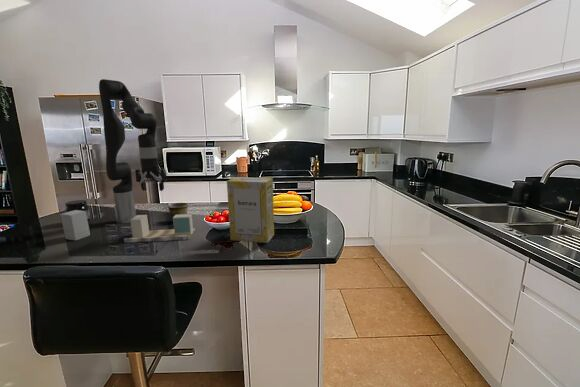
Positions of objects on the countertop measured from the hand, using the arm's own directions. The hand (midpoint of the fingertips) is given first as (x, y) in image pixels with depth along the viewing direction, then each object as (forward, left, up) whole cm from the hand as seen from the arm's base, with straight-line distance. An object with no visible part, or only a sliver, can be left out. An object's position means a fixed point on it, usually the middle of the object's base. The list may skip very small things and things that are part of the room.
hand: (153, 190), depth 135 cm
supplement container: (-51, +24, -22) cm, 60 cm away
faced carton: (+14, -7, -20) cm, 26 cm away
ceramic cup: (+5, +17, -22) cm, 28 cm away
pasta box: (+47, -12, -22) cm, 54 cm away
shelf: (+4, -7, -22) cm, 23 cm away
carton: (-6, -6, -20) cm, 22 cm away
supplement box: (-38, 0, -22) cm, 44 cm away
